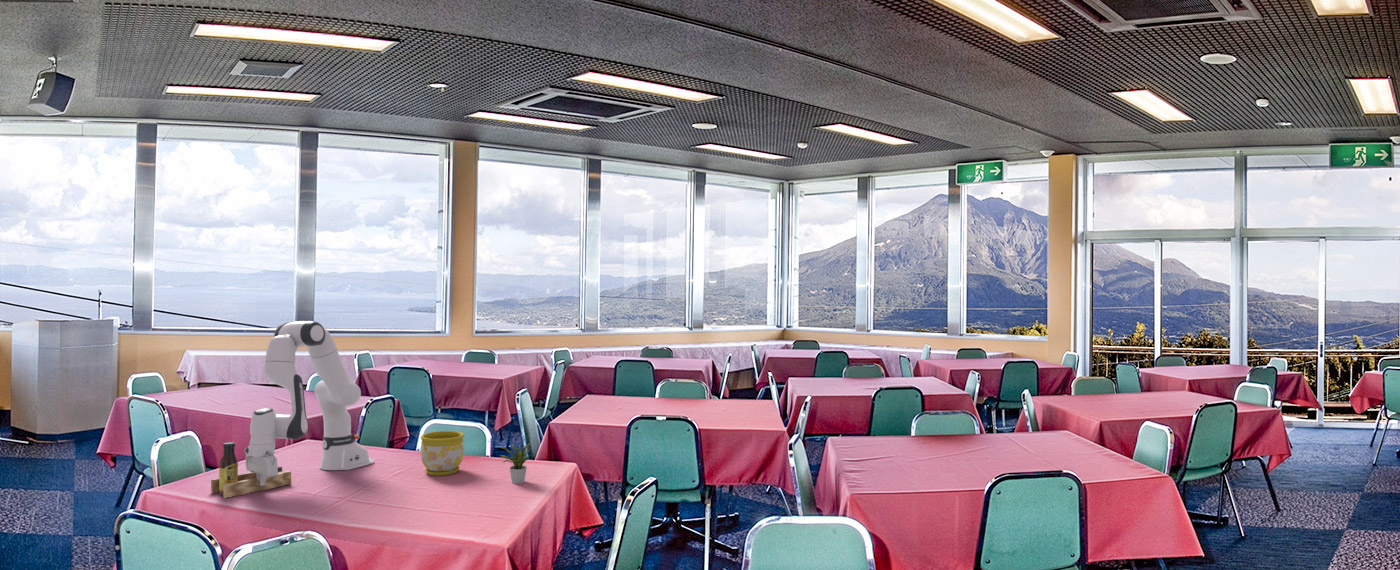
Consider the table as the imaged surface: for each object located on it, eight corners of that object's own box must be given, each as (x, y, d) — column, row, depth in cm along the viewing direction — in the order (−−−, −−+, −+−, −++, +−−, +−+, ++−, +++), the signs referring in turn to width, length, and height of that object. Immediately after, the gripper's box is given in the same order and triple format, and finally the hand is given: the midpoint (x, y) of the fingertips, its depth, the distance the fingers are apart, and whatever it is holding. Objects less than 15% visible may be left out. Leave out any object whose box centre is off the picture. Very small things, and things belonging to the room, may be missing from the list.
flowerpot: (460, 465, 360) (460, 429, 360) (466, 474, 344) (467, 437, 344) (418, 469, 353) (418, 432, 352) (423, 479, 336) (423, 440, 336)
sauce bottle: (228, 496, 309) (228, 445, 308) (215, 495, 310) (214, 444, 310) (241, 491, 315) (241, 441, 315) (228, 490, 317) (227, 441, 316)
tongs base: (278, 479, 333) (278, 463, 333) (286, 482, 328) (286, 467, 328) (211, 492, 313) (211, 476, 313) (219, 496, 308) (219, 479, 308)
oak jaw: (287, 482, 328) (287, 470, 328) (291, 483, 326) (291, 471, 326) (221, 496, 308) (221, 483, 308) (225, 498, 306) (225, 485, 305)
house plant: (513, 475, 344) (514, 437, 344) (541, 478, 339) (542, 440, 339) (494, 483, 330) (494, 444, 330) (523, 487, 326) (523, 447, 325)
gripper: (282, 452, 311) (281, 487, 311) (259, 445, 324) (258, 479, 323) (265, 454, 306) (264, 490, 306) (242, 447, 319) (241, 482, 318)
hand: (261, 485), depth 315 cm, fingers closed
